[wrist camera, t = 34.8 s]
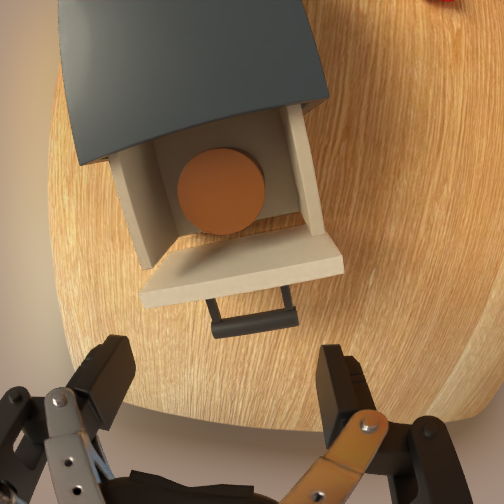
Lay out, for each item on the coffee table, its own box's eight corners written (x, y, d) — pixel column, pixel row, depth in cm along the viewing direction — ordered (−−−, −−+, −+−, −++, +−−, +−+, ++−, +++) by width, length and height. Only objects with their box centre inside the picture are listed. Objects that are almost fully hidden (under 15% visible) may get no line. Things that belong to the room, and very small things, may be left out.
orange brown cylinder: (202, 225, 24) (190, 243, 20) (184, 157, 22) (167, 160, 18) (272, 210, 23) (273, 225, 19) (256, 139, 22) (254, 138, 17)
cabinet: (304, 114, 23) (330, 97, 13) (140, 155, 24) (79, 166, 15) (261, -35, 17) (259, -98, 8) (113, 9, 19) (58, -28, 10)
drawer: (329, 286, 27) (349, 338, 19) (190, 311, 28) (169, 365, 21) (286, 62, 20) (296, 28, 13) (131, 104, 22) (81, 94, 14)
